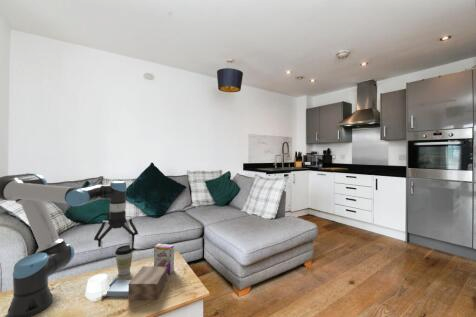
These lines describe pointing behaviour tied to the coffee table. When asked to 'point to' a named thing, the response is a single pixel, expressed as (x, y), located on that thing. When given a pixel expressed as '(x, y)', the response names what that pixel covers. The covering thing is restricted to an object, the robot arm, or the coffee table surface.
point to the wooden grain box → (148, 283)
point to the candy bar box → (164, 256)
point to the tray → (118, 288)
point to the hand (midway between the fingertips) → (116, 250)
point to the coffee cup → (124, 259)
